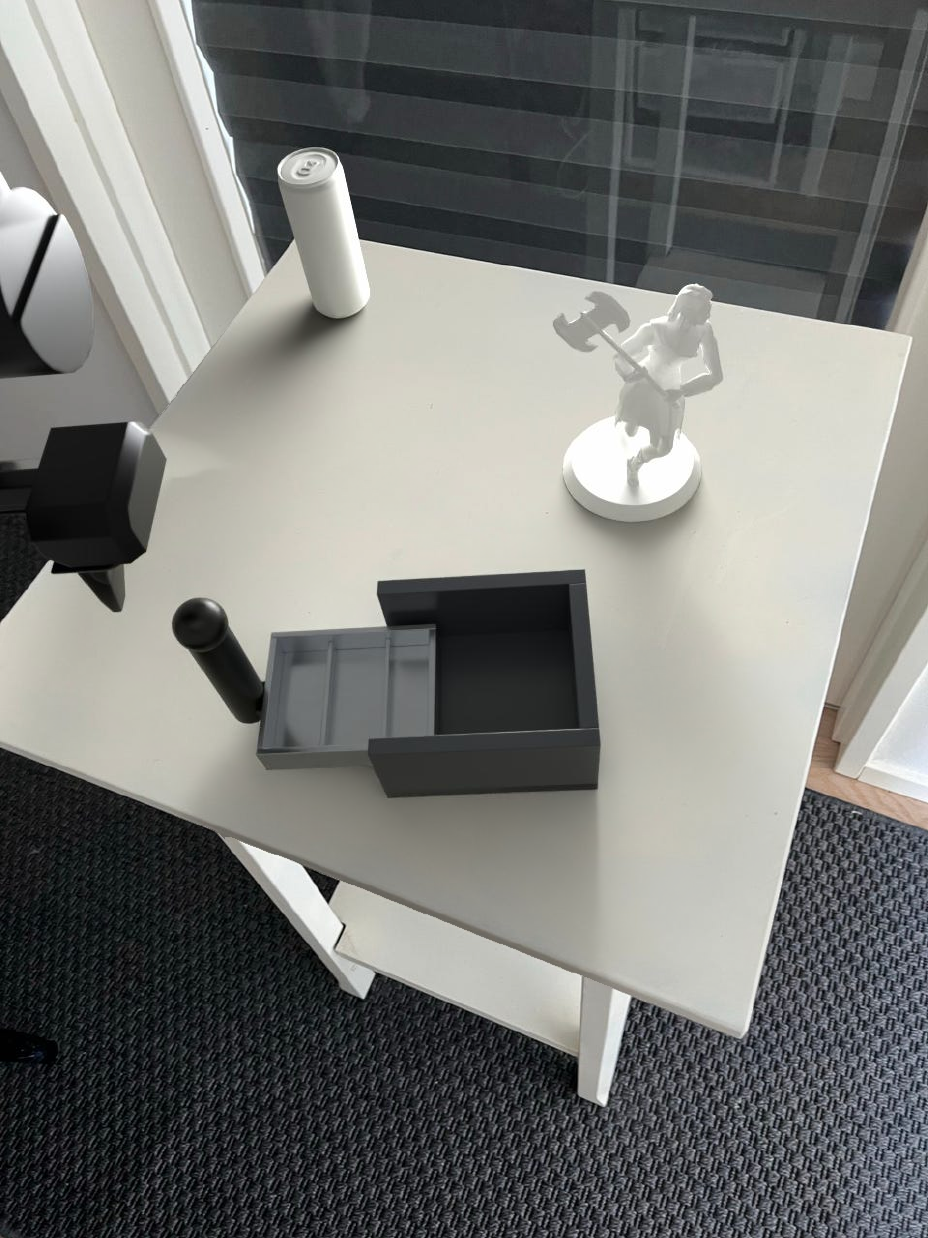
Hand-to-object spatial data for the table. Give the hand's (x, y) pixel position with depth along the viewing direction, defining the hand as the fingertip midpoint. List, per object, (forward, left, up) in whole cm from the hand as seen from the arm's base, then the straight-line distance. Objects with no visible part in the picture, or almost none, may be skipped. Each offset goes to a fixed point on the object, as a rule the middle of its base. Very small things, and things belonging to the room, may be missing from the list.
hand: (31, 610), depth 46 cm
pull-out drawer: (+13, 0, -12) cm, 17 cm away
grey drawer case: (+22, 0, -13) cm, 26 cm away
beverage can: (+10, +38, -13) cm, 42 cm away
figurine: (+32, +18, -13) cm, 39 cm away
